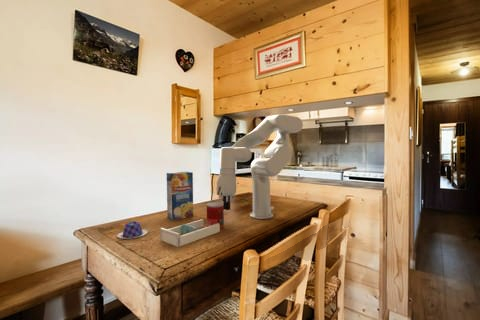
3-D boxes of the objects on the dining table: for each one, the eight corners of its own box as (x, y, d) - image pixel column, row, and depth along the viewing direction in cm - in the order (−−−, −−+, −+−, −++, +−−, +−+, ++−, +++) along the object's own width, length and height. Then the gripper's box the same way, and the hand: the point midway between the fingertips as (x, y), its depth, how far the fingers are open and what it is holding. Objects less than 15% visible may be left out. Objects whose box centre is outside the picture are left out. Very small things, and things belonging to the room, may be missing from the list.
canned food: (221, 230, 108) (221, 206, 108) (204, 229, 110) (204, 205, 109) (225, 225, 116) (225, 202, 115) (209, 224, 117) (209, 201, 117)
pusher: (183, 233, 104) (183, 223, 104) (196, 238, 98) (196, 227, 98) (178, 235, 102) (178, 224, 102) (191, 239, 96) (191, 228, 96)
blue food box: (187, 213, 138) (187, 171, 137) (193, 216, 132) (192, 172, 131) (167, 217, 131) (166, 172, 130) (172, 220, 125) (171, 173, 124)
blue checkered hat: (148, 237, 101) (148, 225, 101) (116, 242, 96) (116, 229, 96) (146, 229, 112) (146, 217, 111) (117, 233, 107) (117, 221, 106)
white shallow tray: (202, 226, 114) (202, 216, 114) (219, 231, 107) (219, 220, 106) (160, 239, 97) (160, 228, 97) (178, 247, 90) (177, 234, 90)
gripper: (231, 171, 127) (231, 206, 127) (211, 172, 115) (210, 210, 115) (243, 172, 122) (242, 208, 122) (222, 173, 110) (221, 213, 111)
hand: (226, 209), depth 119 cm, fingers closed
